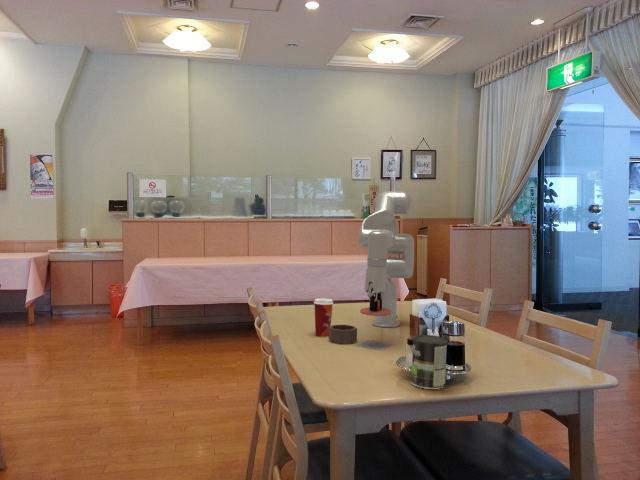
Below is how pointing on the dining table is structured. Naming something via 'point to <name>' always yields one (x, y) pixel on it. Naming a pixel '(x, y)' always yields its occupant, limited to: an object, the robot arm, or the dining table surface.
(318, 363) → the dining table surface
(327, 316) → the coffee cup
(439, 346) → the coffee can
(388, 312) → the lid
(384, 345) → the mat
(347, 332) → the bowl
